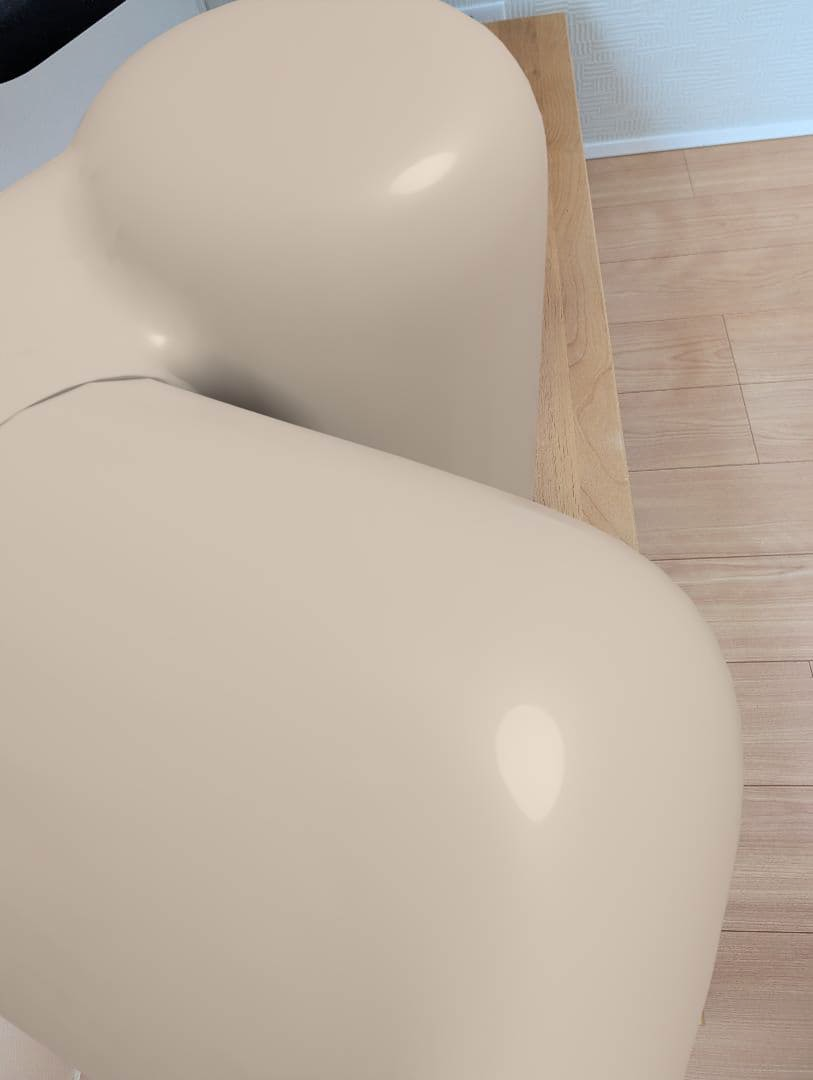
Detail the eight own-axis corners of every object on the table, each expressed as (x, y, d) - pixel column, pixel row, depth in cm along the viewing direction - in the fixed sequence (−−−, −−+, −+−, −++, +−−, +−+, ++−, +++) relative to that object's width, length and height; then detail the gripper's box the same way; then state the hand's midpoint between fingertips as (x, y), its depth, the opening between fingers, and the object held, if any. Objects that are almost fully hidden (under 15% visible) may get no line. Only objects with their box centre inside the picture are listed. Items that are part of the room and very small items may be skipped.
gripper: (387, 288, 26) (432, 547, 41) (114, 784, 19) (291, 880, 34) (609, 330, 24) (571, 587, 39) (404, 907, 17) (454, 951, 32)
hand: (441, 722), depth 36 cm, fingers closed on small box, 7 cm apart
